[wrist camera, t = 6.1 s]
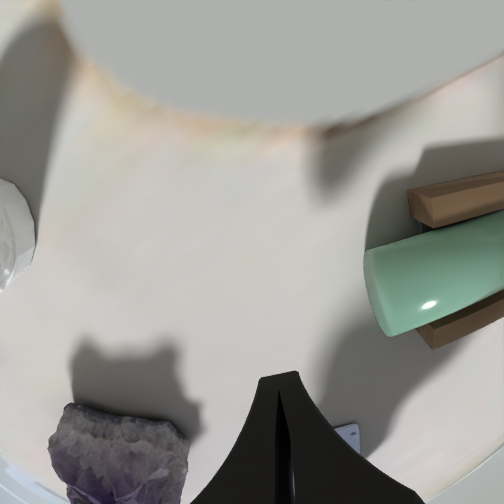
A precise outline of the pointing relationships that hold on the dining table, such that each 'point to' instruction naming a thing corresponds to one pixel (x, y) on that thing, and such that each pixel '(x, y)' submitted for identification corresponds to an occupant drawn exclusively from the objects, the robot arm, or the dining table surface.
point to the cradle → (447, 213)
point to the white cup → (14, 234)
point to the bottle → (435, 272)
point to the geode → (118, 458)
